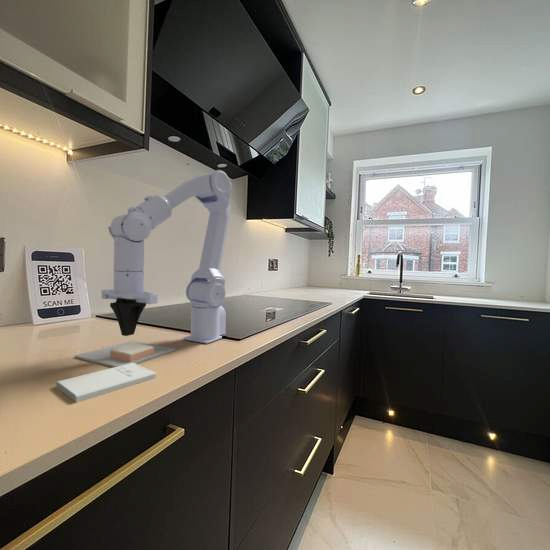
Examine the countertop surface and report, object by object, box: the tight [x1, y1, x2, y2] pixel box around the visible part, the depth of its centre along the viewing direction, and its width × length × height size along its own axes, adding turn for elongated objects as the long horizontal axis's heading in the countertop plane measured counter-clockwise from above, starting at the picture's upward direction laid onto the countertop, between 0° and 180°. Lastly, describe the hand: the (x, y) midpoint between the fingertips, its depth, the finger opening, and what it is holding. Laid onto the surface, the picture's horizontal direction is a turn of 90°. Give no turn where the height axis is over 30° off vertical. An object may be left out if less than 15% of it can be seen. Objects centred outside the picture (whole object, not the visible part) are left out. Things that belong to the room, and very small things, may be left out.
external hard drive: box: [55, 363, 157, 404], centre depth 50 cm, size 2×8×12 cm
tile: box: [110, 343, 154, 362], centre depth 63 cm, size 6×2×6 cm
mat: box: [74, 340, 176, 368], centre depth 65 cm, size 14×14×1 cm
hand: (128, 334), depth 64 cm, fingers closed
